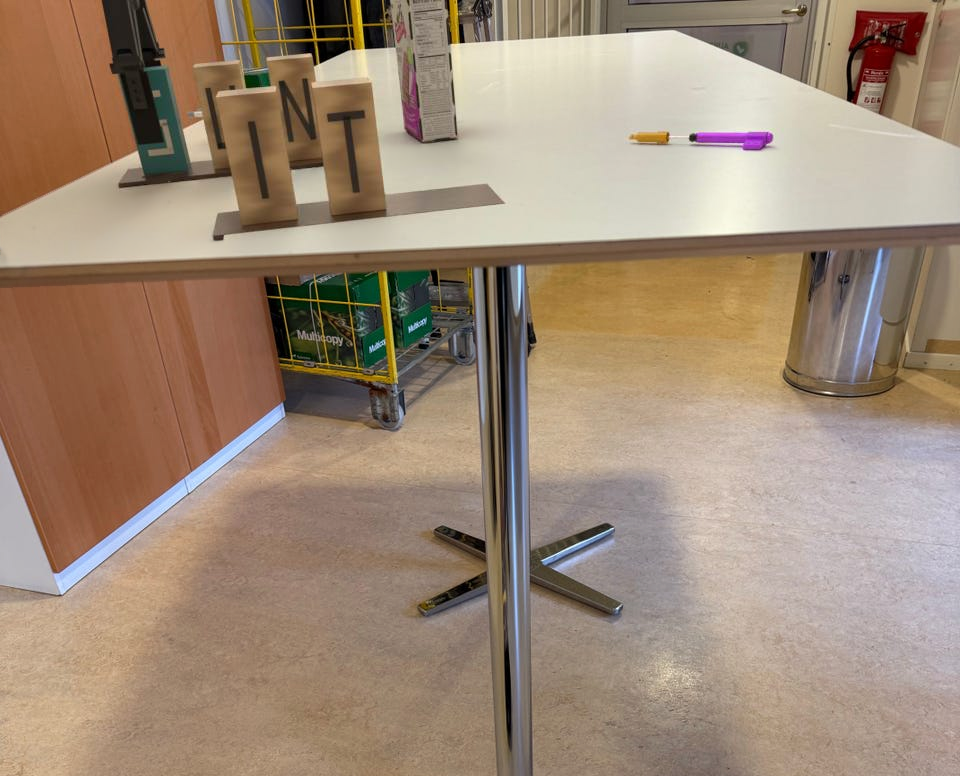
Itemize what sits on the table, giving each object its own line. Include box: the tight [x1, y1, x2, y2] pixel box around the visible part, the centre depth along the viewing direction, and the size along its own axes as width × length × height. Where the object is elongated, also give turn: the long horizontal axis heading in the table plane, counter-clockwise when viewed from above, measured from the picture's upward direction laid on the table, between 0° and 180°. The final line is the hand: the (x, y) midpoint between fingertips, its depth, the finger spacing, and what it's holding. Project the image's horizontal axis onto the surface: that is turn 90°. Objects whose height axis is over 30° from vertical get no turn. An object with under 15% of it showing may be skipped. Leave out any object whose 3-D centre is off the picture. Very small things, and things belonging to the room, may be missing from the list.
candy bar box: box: [389, 0, 459, 143], centre depth 112 cm, size 11×5×16 cm, turn 15°
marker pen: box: [628, 130, 774, 150], centre depth 99 cm, size 3×1×16 cm
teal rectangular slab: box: [117, 65, 191, 175], centre depth 103 cm, size 5×4×10 cm
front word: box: [212, 76, 506, 241], centre depth 82 cm, size 26×9×10 cm, turn 100°
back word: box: [117, 53, 323, 188], centre depth 104 cm, size 26×9×10 cm, turn 100°
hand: (157, 134), depth 104 cm, fingers open, 13 cm apart
